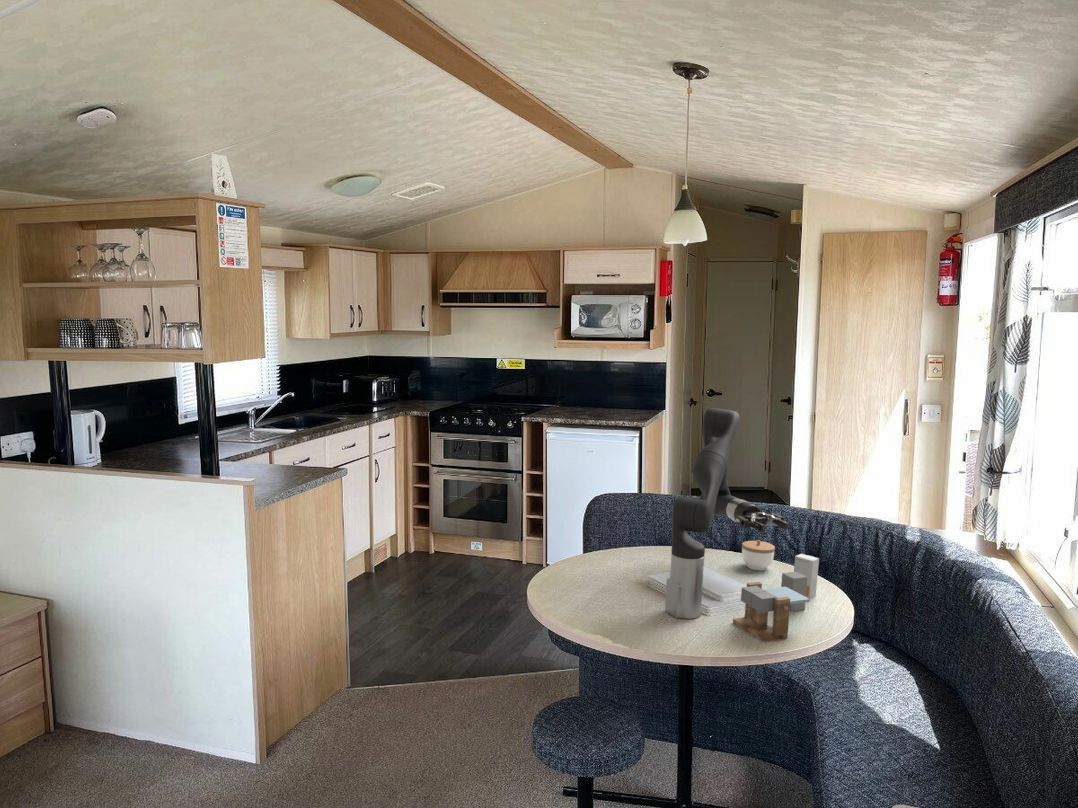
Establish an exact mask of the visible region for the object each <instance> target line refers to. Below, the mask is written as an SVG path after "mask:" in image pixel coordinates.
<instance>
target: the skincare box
mask: <svg viewBox="0 0 1078 808" xmlns="http://www.w3.org/2000/svg"><path fill="white" fill-rule="evenodd" d="M819 564H820V558H819V557H815V556H813V555H808V554H807V555H806V554H805V553H799V554H797V555H795V556H794V566H793V567H794V568H793V572H798V573H800V574H802V575H804V576H806V577H807V589H806V597H807V598H809V599H810V600H811V598H813V597H816V595H817V586H818V574H819V566H820V565H819Z"/></svg>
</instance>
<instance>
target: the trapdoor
mask: <svg viewBox="0 0 1078 808" xmlns="http://www.w3.org/2000/svg"><path fill="white" fill-rule="evenodd" d="M782 597H788V598H790V604H798V603H805V604H806V603H810V601H811V598H810V599H809V598H807V597H805V596H803V595H801V594H799V593H797V592H795V591H793V590H791V589H789V588H787V587H781V586H779V587H771V588H762V589H761V588H760V587H758V586H750V587H747V586H744V587H742V586H741V594H740V602H742V603H744V604H747V605H749V606H750V607H752V608H754V609H756V610H757V611H759V612H761V613H764V612H768V613H770V612H774V600H775V598H782Z"/></svg>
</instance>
